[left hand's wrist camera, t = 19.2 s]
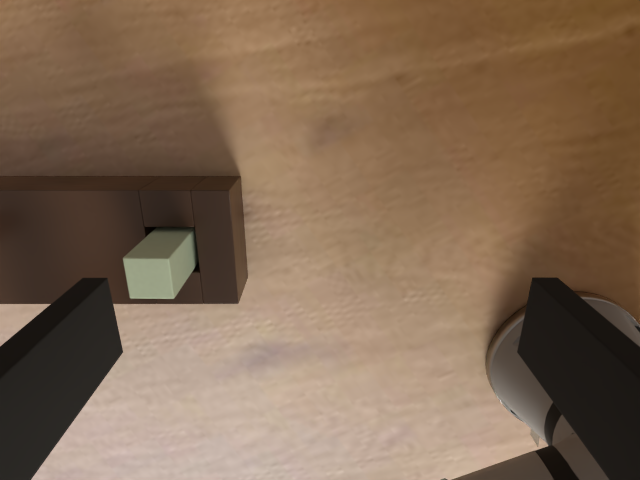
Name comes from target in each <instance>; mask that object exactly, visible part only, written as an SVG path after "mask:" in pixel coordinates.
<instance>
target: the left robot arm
mask: <svg viewBox="0 0 640 480" xmlns="http://www.w3.org/2000/svg"><path fill="white" fill-rule="evenodd" d="M122 353H123V350H122V345H121V340H120V335H119V331H118V326H117V321H116V316H115V311H114V306H113V302H112V297H111V292H110V287H109V282H108V278H82V279H81V280H79V281H78V282H77V283H76V284H75V285H73V286H72V287H71V288H70V289H69V290H67V291H66V292H65V293H64V294H63V295H61V296H60V297H59V298H58V299H57V300H55V301H54V302H53V303H52V304H51V305H50V306H48V307H47V308H46V309H45V310H44V311H42V312H41V313H40V314H39V315H38V316H36V317H35V318H34V319H33V320H32V321H30V322H29V323H28V324H27V325H26V326H24V327H23V328H22V329H21V330H20V331H18V332H17V333H16V334H15V335H14V336H12V337H11V338H10V339H9V340H8V341H6V342H5V343H4V344H3V345H2V346H0V480H31V479H32V477H33V476H34V475H35V473H36V472H37V470H38V469H39V468H40V466H41V465H42V463H43V462H44V461H45V459H46V458H47V457H48V455H49V454H50V452H51V451H52V450H53V448H54V447H55V446H56V444H57V443H58V441H59V440H60V439H61V437H62V436H63V434H64V433H65V432H66V430H67V429H68V428H69V426H70V425H71V423H72V422H73V421H74V419H75V418H76V416H77V415H78V414H79V412H80V411H81V410H82V408H83V407H84V405H85V404H86V403H87V401H88V400H89V398H90V397H91V396H92V394H93V393H94V392H95V390H96V389H97V387H98V386H99V385H100V383H101V382H102V380H103V379H104V378H105V376H106V375H107V374H108V372H109V371H110V369H111V368H112V367H113V365H114V364H115V362H116V361H117V360H118V358H119V357H120V356H121V354H122ZM486 372H487V377H488V380H489V383H490V385H491V387H492V389H493V390H494V392H495V394H496V396H497V398H498V399H499V400H500V402H501V403H502V404H503V405H504V406H505V408H506V409H507V410H508V411H509V412H510V413H511V414H513V415H514V416H515V417H516V418H518V419H519V420H521V421H523V422H524V423H526V424H527V425H528V426H529V427H530V428H531V436H532V438H533V439H534V441H535V443H536V444H537V446H538V444H539V437H541V438H542V439H543V440H544V441H545V442H546V443H547V444H548V447H545V448H542V449H539V450H536V451H532V452H529V453H526V454H523V455H521V456H518V457H515V458H512V459H509V460H506V461H504V462H501V463H498V464H495V465H492V466H489V467H487V468H484V469H481V470H478V471H475V472H472V473H470V474H467V475H464V476H461V477H458V478H455V479H452V480H640V324H639V323H638V322H637V321H636V320H635V319H634V318H633V317H632V316H631V315H630V314H629V313H628V312H627V311H626V310H624V309H623V308H622V307H620V306H619V305H618V304H616V303H615V302H613V301H612V300H610V299H608V298H605V297H603V296H600V295H597V294H592V293H586V292H574V291H573V290H571V289H570V288H569V287H568V286H567V285H565V284H564V283H563V282H562V281H561V280H559V279H558V278H532V282H531V287H530V292H529V297H528V302H527V306H525V307H523V308H522V309H520V310H519V311H517V312H516V313H515V314H514V315H512V316H511V317H510V318H509V319H508V320H507V321H506V322H505V323H504V324H503V325H502V326H501V328H500V329H499V330H498V332H497V333H496V335H495V336H494V338H493V340H492V342H491V344H490V347H489V350H488V353H487V358H486ZM441 480H447V479H445V478H444V479H441Z"/></svg>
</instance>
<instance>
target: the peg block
mask: <svg viewBox="0 0 640 480" xmlns="http://www.w3.org/2000/svg"><path fill="white" fill-rule="evenodd" d="M157 227H195V233H196V242H197V250H198V259H199V262H198V264H197V265H196V267H195V268H194V270H193V271H192V273H191V274H190V276H189V277H188V279H187V280H186V282H185V283H184V285H183V286H182V287H181V289H180V290H179V292H178V293H177V295H176V296H175V298H174V299H142V298H130V296H129V290H128V285H127V279H126V274H125V268H124V262H123V257H124V256H126V255H127V254H128V253H129V252H130V251H131V250H132V249H133V248H134V247H136V246H137V245H138V244H139V243H140V242H141V241H142V240H143V239H144V238H146V237H147V236H148V235H149V234H150V233H151V232H152V231H153V230H154V229H156V228H157ZM82 278H108V282H109V287H110V292H111V297H112V302H113V304H203V303H204V304H238V303H239V300H240V298H241V295H242V292H243V289H244V287H245V284H246V281H247V278H248V274H247V259H246V245H245V231H244V216H243V202H242V188H241V177H240V176H0V304H52V303H53V302H54V301H55V300H57V299H58V298H59V297H60V296H61V295H63V294H64V293H65V292H66V291H67V290H69V289H70V288H71V287H72V286H73V285H75V284H76V283H77V282H78V281H79V280H81V279H82Z"/></svg>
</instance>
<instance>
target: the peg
mask: <svg viewBox="0 0 640 480" xmlns="http://www.w3.org/2000/svg"><path fill="white" fill-rule="evenodd" d="M123 262H124V268H125V274H126V279H127V285H128V290H129V296H130V298H142V299H174V298H175V296H176V295H177V293H178V292H179V290H180V289H181V287H182V286H183V285H184V283H185V282H186V280H187V279H188V277H189V276H190V274H191V273H192V271H193V270H194V268H195V267H196V265H197V264H198V262H199V259H198V250H197V242H196V233H195V227H157V228H156V229H154V230H153V231H152V232H151V233H150V234H149V235H148V236H147V237H146V238H144V239H143V240H142V241H141V242H140V243H139V244H138V245H137V246H136V247H134V248H133V249H132V250H131V251H130V252H129V253H128V254H127V255H126V256H124V257H123Z"/></svg>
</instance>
